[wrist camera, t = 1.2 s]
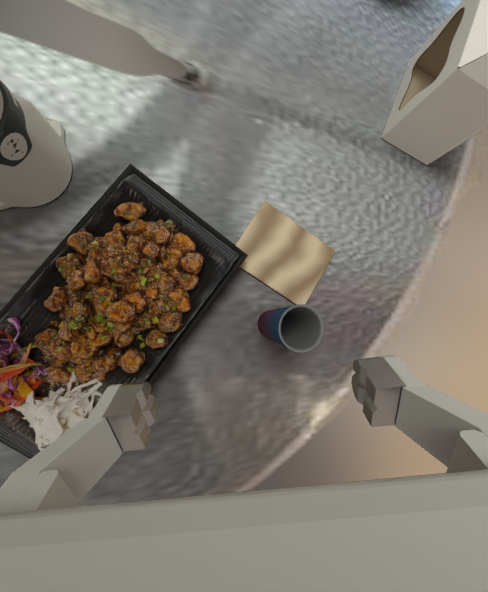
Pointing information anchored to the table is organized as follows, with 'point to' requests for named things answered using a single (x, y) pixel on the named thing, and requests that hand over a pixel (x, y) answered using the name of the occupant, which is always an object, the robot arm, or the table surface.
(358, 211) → the table surface
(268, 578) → the robot arm
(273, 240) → the wooden board
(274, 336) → the cup
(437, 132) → the gable box
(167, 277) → the food platter
